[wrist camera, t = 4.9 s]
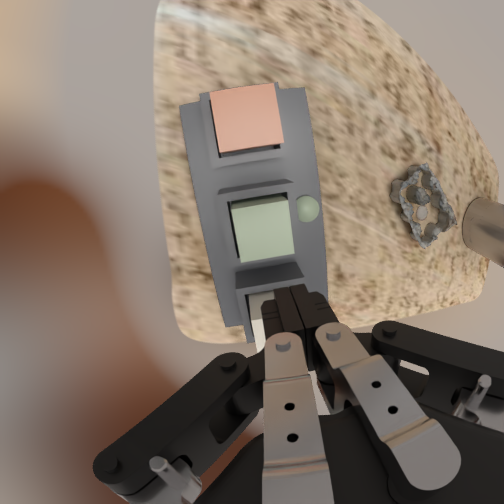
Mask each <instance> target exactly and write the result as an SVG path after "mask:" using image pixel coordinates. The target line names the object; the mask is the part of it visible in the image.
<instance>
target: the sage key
mask: <svg viewBox="0 0 504 504" xmlns="http://www.w3.org/2000/svg"><path fill="white" fill-rule="evenodd" d="M231 211H232V217H233V222H234V227H235V233H236V238H237V244H238V249H239V254H240V260H241V263H242V262H248V261H254V260H260V259H266V258H271V257H277V256H283V255H289V254H295V253H294V244H293V236H292V228H291V220H290V212H289V204H288V200H287V199H286V198H285V197H283V196H282V195H281V194H280V193H276V194H270V195H263V196H257V197H251V198H245V199H239V200H234V201H232V207H231Z"/></svg>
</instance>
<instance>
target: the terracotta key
mask: <svg viewBox="0 0 504 504" xmlns="http://www.w3.org/2000/svg"><path fill="white" fill-rule="evenodd" d="M209 93H210V99H211V105H212V111H213V117H214V123H215V129H216V134H217V140H218V146H219V152H220V153H223V154H224V153H229V152H235V151H241V150H247V149H254V148H260V147H267V146H274V145H278V144H281V143H284V139H283V132H282V126H281V120H280V115H279V109H278V103H277V98H276V92H275V87H274V83H269V84H260V85H252V86H244V87H237V88H231V89H225V90H219V91H214V92H209Z"/></svg>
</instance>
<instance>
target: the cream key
mask: <svg viewBox="0 0 504 504" xmlns="http://www.w3.org/2000/svg"><path fill="white" fill-rule="evenodd" d="M272 299H274V293H273V290H269V291H263V292H257V293H252V294H249V305H250V315H251V323H252V328H253V333H254V338H255V342H256V347H257V352H260V351H261V350H262V349H263V348H264V346H265V342H266V339H265V333H264V327H263V320H262V314H261V308H260V307H261V305H262V304H263V302H264V301H266V300H272Z"/></svg>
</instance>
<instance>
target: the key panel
mask: <svg viewBox="0 0 504 504" xmlns="http://www.w3.org/2000/svg"><path fill="white" fill-rule="evenodd" d="M266 84H269V83H266ZM257 85H260V84H257ZM249 86H252V85H249ZM242 87H244V86H242ZM274 87H275V92H276V98H277V103H278V109H279V115H280V120H281V126H282V132H283V139H284V143H281V144H278V145H274V146H267V147H260V148H254V149H247V150H241V151H235V152H229V153H224V154H223V153H220V152H219V146H218V140H217V134H216V129H215V123H214V117H213V111H212V105H211V99H210V93H209V92H207V93H202V94H199V96H200V101H198V102H194V103H189V104H185V105H181V106H179V108H180V115H181V121H182V127H183V133H184V139H185V144H186V150H187V156H188V161H189V166H190V172H191V177H192V182H193V187H194V192H195V197H196V202H197V207H198V212H199V217H200V222H201V226H202V231H203V235H204V240H205V244H206V249H207V253H208V258H209V262H210V266H211V271H212V275H213V279H214V283H215V287H216V292H217V296H218V300H219V304H220V308H221V312H222V316H223V319H224V323H225V327H231V326H238V325H243V326H244V330H245V335H246V339H247V343H252V342H255V338H254V333H253V328H252V323H251V315H250V305H249V294H252V293H257V292H263V291H269V290H273V289H275V288H281V287H287V286H288V287H289V286H292V285H297V284H303V283H304V284H305V286H306V288H307V290H308V292H314V291H317V292H319V293H321V294H322V295H324V297H325V298H326V300H327V302H328V286H327V266H326V250H325V236H324V224H323V213H322V203H321V193H320V184H319V176H318V168H317V160H316V153H315V146H314V139H313V133H312V126H311V120H310V114H309V108H308V103H307V97H306V92H305V88H289V89H279V86H278V82H276V83H274ZM235 88H237V87H235ZM229 89H231V88H229ZM223 90H225V89H223ZM217 91H219V90H217ZM212 92H214V91H212ZM276 193H280V194H281V195H282V196H283V197H285V198H286V199H287V200H288V204H289V212H290V220H291V228H292V236H293V244H294V253H295V254H289V255H283V256H277V257H271V258H266V259H260V260H254V261H248V262H242V263H241V260H240V254H239V249H238V244H237V238H236V233H235V227H234V222H233V217H232V211H231V207H232V201H234V200H239V199H245V198H251V197H257V196H263V195H270V194H276Z"/></svg>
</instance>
